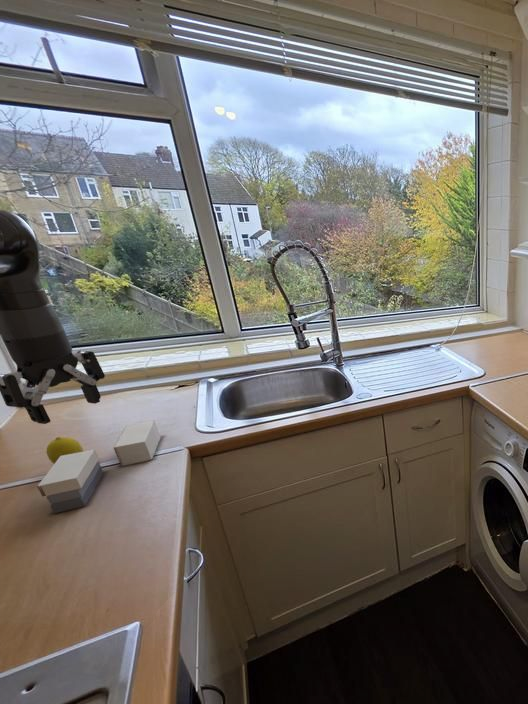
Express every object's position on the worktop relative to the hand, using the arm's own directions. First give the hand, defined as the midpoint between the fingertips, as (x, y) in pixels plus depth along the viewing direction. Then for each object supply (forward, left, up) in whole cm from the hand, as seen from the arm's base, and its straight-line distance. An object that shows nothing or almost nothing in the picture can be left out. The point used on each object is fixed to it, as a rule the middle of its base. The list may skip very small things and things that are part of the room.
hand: (70, 412), depth 78 cm
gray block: (-6, +5, -20) cm, 22 cm away
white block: (+2, +19, -20) cm, 28 cm away
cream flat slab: (-6, +5, -16) cm, 18 cm away
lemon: (-10, +18, -20) cm, 29 cm away
